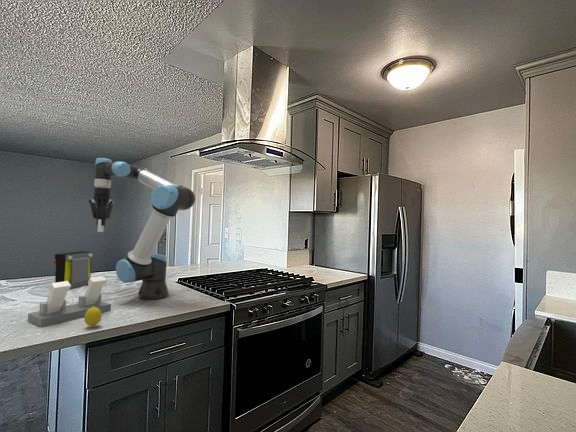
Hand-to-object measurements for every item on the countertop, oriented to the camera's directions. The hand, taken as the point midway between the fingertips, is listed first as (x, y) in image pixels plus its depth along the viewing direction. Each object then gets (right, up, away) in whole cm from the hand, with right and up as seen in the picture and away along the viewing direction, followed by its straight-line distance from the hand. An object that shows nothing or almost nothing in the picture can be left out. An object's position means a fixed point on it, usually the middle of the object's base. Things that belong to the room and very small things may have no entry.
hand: (100, 231), depth 159 cm
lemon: (+24, -35, -44) cm, 61 cm away
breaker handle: (+11, -31, -25) cm, 41 cm away
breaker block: (+8, -34, -32) cm, 47 cm away
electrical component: (-28, -34, +19) cm, 48 cm away
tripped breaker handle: (+4, -30, -37) cm, 48 cm away
